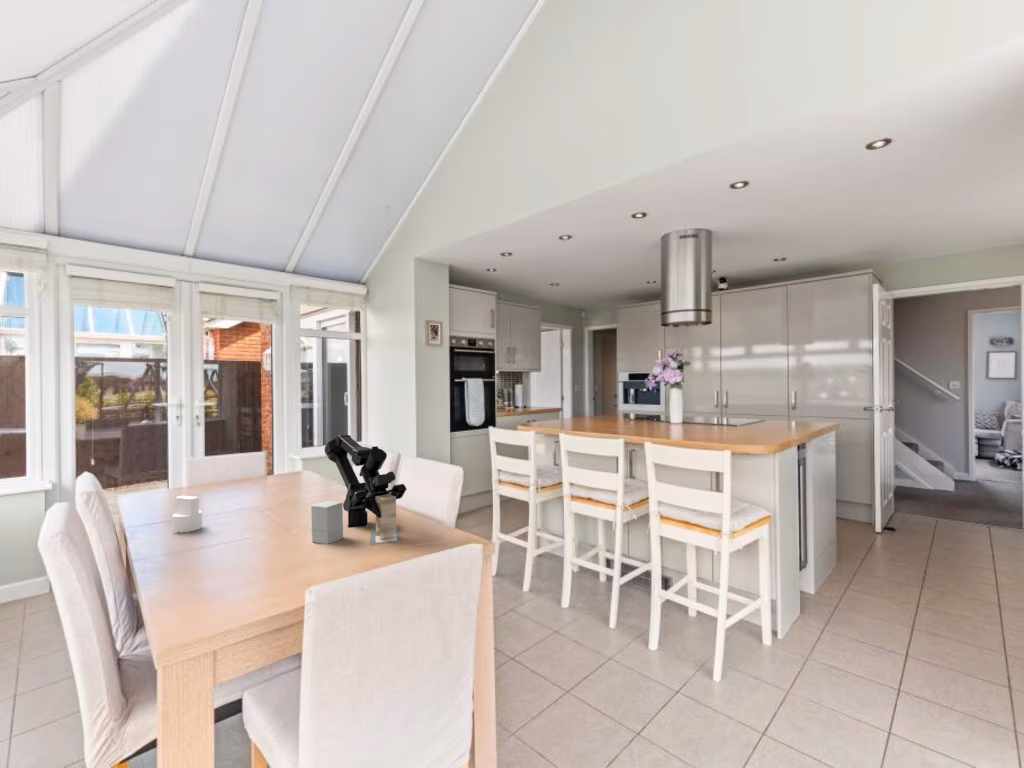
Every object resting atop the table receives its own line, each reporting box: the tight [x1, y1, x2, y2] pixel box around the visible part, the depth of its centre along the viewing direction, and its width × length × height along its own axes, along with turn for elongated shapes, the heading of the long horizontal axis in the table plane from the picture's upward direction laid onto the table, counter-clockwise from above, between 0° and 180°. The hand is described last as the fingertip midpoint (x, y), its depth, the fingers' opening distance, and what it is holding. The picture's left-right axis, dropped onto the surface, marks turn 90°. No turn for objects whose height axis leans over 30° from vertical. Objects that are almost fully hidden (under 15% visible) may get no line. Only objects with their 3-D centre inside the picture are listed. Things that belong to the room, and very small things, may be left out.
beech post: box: [375, 494, 397, 538], centre depth 163 cm, size 5×5×13 cm
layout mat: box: [369, 524, 402, 546], centre depth 168 cm, size 10×20×1 cm, turn 16°
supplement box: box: [310, 500, 344, 545], centre depth 164 cm, size 7×7×13 cm
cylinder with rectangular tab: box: [172, 495, 203, 533], centre depth 179 cm, size 9×9×12 cm
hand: (387, 515), depth 162 cm, fingers closed on beech post, 5 cm apart
